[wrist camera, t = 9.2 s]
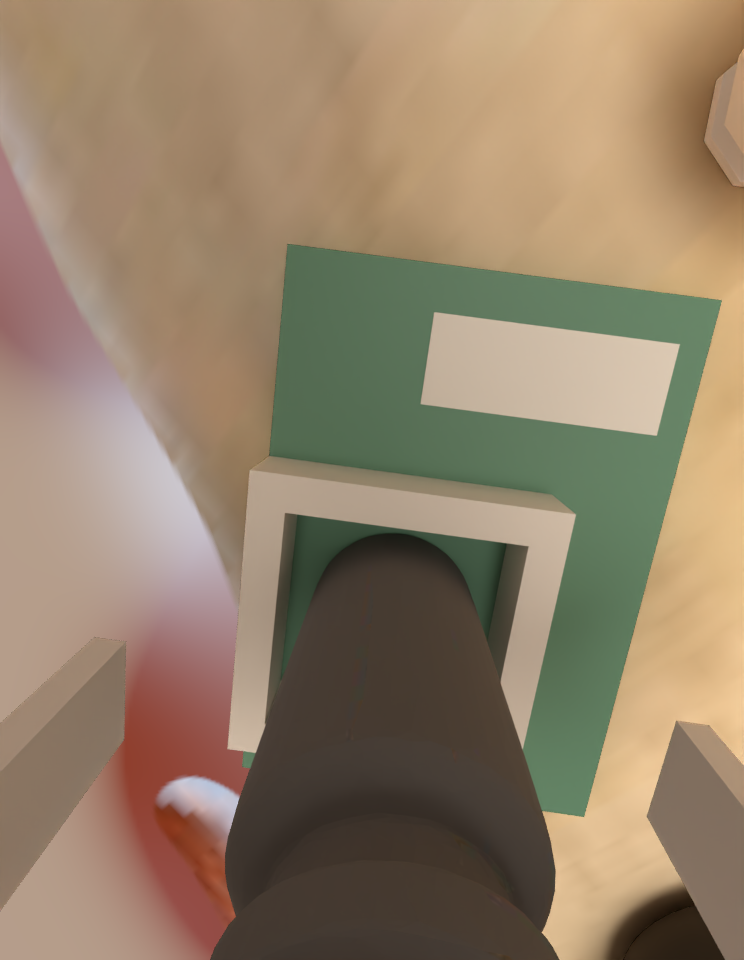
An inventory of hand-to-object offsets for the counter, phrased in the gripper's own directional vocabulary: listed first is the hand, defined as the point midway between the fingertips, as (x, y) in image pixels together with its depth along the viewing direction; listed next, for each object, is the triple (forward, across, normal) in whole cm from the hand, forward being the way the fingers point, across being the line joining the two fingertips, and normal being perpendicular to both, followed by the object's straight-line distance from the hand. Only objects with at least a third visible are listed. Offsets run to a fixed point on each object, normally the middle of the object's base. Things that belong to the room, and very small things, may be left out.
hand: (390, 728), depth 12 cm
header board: (+8, +2, +2) cm, 8 cm away
